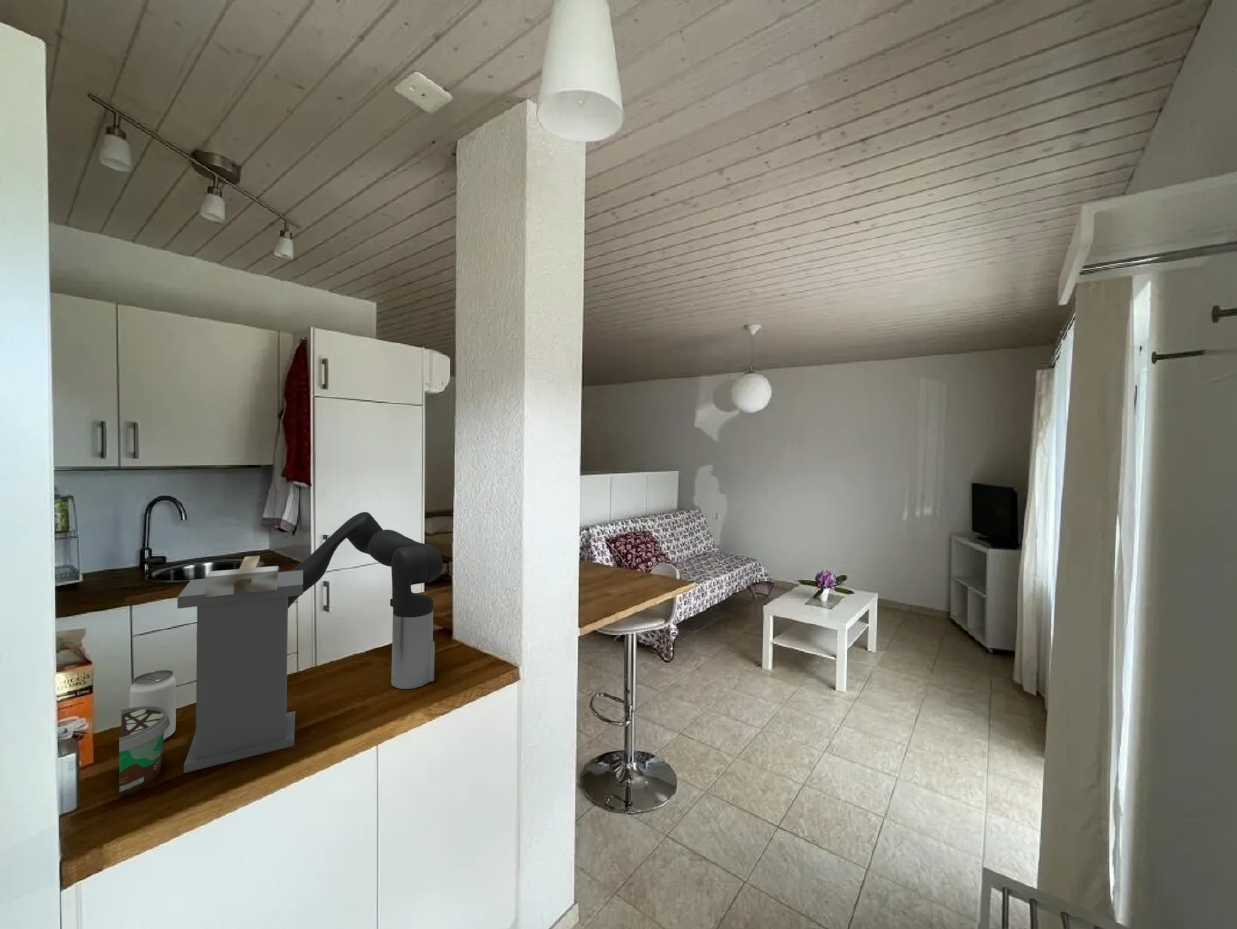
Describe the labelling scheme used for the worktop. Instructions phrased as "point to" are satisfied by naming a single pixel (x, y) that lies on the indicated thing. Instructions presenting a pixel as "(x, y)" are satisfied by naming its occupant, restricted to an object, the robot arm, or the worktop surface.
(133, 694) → the can
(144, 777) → the food container
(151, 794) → the worktop surface
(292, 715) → the stand
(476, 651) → the worktop surface
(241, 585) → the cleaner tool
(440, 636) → the worktop surface
